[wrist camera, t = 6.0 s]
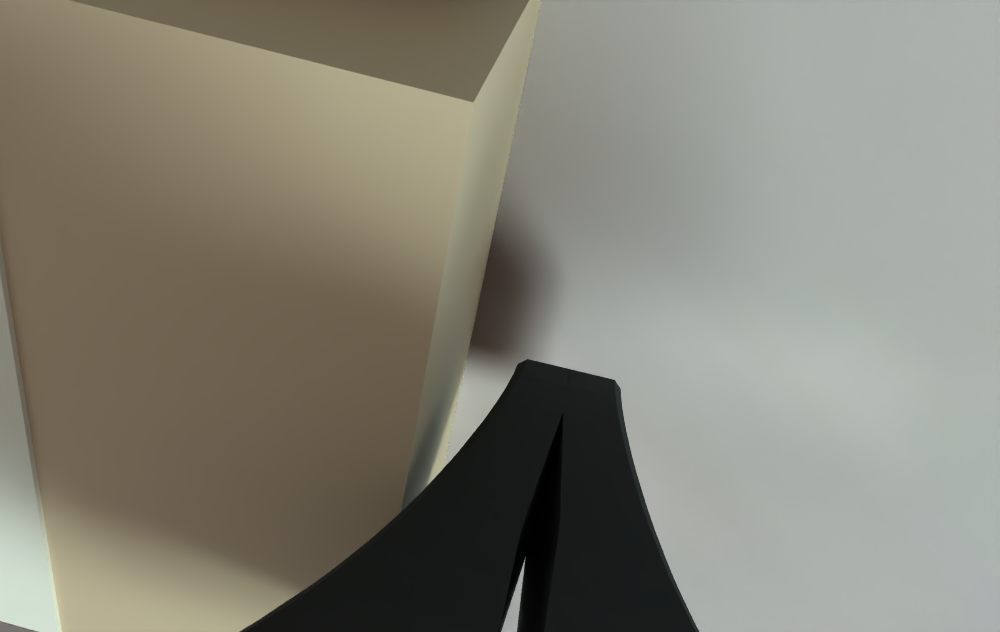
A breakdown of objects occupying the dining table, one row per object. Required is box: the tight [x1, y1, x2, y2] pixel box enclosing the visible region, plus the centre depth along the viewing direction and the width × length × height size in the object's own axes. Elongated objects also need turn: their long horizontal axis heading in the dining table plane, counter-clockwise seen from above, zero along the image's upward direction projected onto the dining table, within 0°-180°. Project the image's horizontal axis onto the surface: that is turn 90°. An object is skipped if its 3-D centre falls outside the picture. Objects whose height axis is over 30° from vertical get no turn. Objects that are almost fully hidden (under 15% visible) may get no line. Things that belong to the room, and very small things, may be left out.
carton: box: [0, 0, 542, 632], centre depth 12 cm, size 9×11×5 cm
